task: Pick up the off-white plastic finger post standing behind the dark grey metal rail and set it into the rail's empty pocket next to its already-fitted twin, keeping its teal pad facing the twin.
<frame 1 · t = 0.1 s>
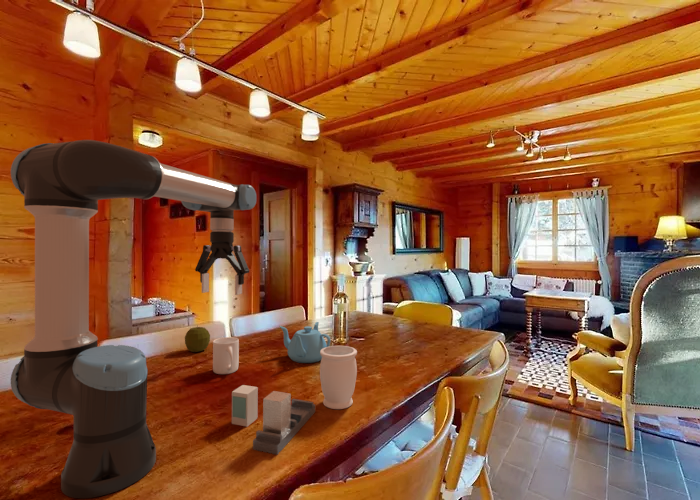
hand: (221, 293, 118), 28 cm above the table, fingers open, 13 cm apart
teapot: (305, 357, 138), on the table
rail: (287, 428, 83), on the table
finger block: (244, 420, 87), on the table
olive green ball: (197, 351, 144), on the table
mug: (227, 372, 120), on the table
jar: (338, 403, 97), on the table
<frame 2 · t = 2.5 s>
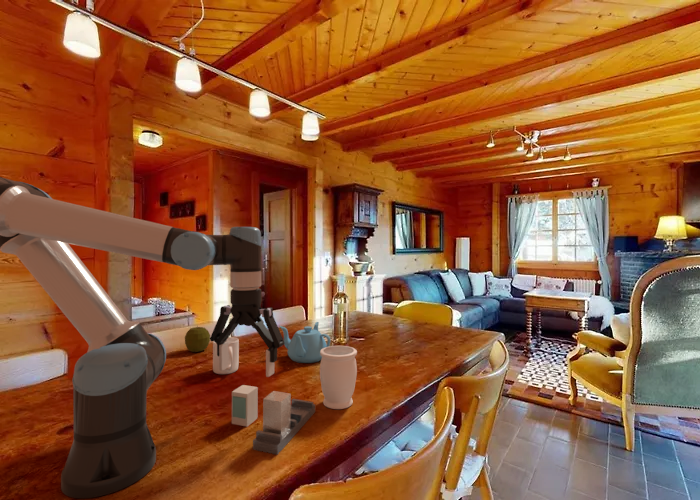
hand: (246, 371, 87), 12 cm above the table, fingers open, 13 cm apart
nothing on the table moved.
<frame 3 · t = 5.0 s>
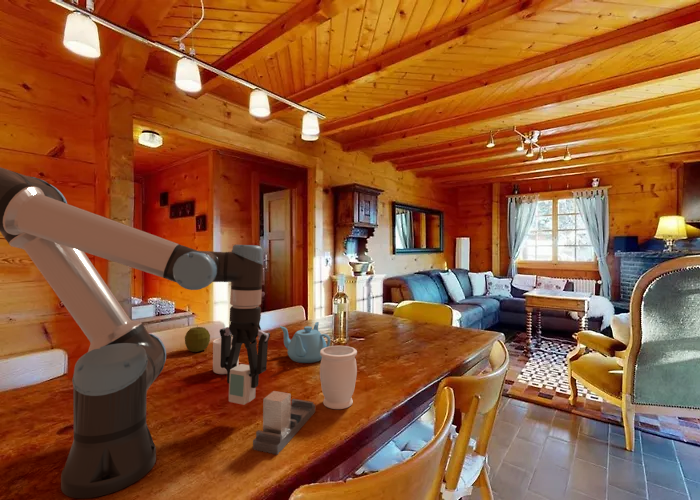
hand: (241, 397, 87), 6 cm above the table, fingers closed on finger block, 4 cm apart
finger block: (241, 399, 87), point 5 cm above the table, touching gripper
everything else where it was.
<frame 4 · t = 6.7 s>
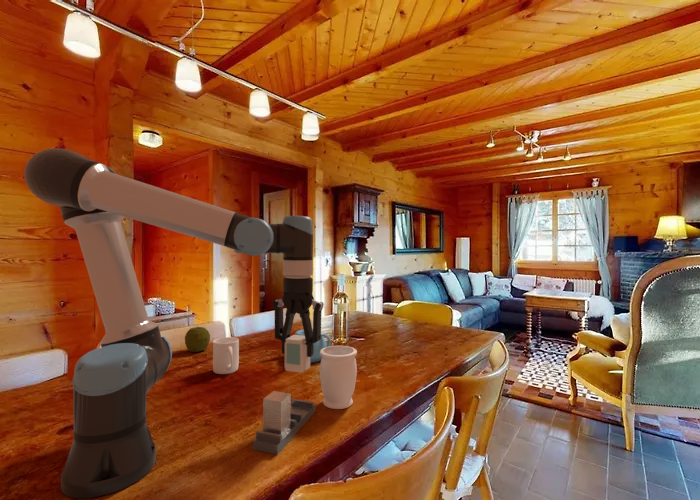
hand: (297, 367, 88), 13 cm above the table, fingers closed on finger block, 4 cm apart
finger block: (297, 368, 88), point 13 cm above the table, touching gripper
everything else where it was.
when the fingers open (3 cm above the table, at t = 8.6 s): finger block stays where it is, resting on rail.
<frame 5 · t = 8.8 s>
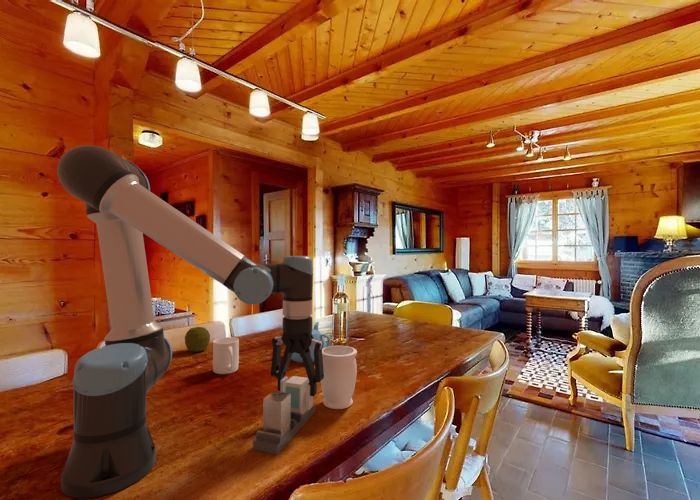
hand: (296, 405, 88), 3 cm above the table, fingers open, 7 cm apart
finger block: (296, 411, 88), point 2 cm above the table, touching rail
everything else where it was.
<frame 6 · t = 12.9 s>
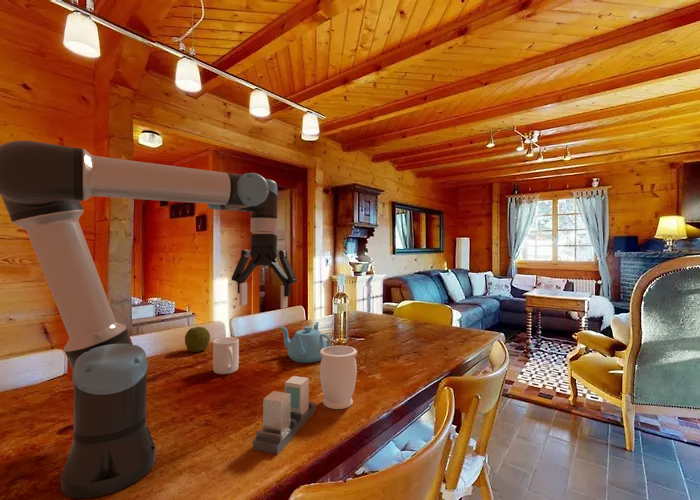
hand: (263, 306, 100), 27 cm above the table, fingers open, 13 cm apart
nothing on the table moved.
at the end: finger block 0.1 cm from the target spot on the rail, point 2.0 cm above the rail's base; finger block tilted 0°; the gripper is holding nothing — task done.
